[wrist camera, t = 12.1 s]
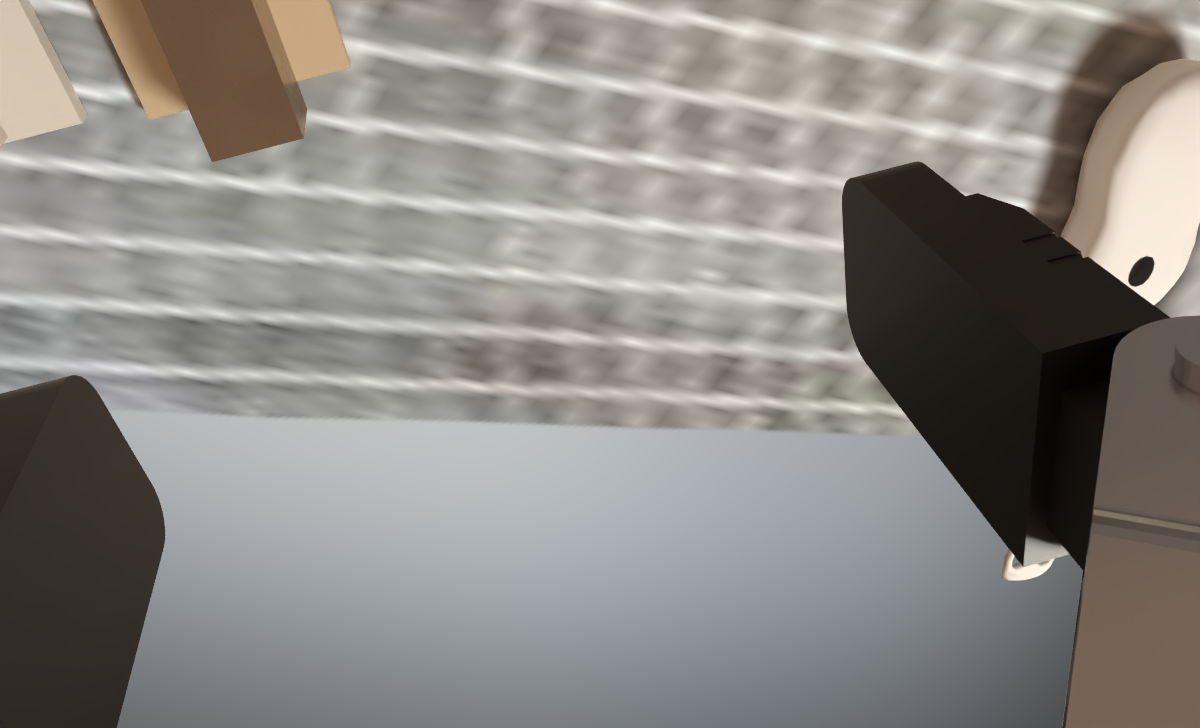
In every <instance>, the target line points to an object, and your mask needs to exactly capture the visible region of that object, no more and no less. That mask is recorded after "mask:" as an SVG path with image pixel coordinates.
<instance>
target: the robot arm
mask: <svg viewBox="0 0 1200 728" xmlns="http://www.w3.org/2000/svg"><path fill="white" fill-rule="evenodd" d="M842 215H843V237H844V258H845V280H846V302H847V313H848V319H849V324H850V328H851V331H852V335H853V338H854V341H855V343H856V346H857V348H858V350H859V352H860V354H861V356H862V358H863V359H864V361H865V362H866V364H867V365H868V366H869V368H870V369H871V370H872V372H873V373H874V374H875V375H876V377H877V378H878V379H879V381H880V382H881V383H882V385H883V386H884V387H885V388H886V390H887V391H888V392H889V394H890V395H891V396H892V397H893V399H894V400H895V401H896V403H897V404H898V405H899V407H900V408H901V409H902V410H903V412H904V413H905V414H906V416H907V417H908V418H909V420H910V421H911V422H912V423H913V425H914V426H915V427H916V429H917V430H918V431H919V433H920V434H921V435H922V436H923V438H924V439H925V440H926V442H927V443H928V444H929V445H930V447H931V448H932V449H933V451H934V452H935V453H936V455H937V456H938V457H939V458H940V460H941V461H942V462H943V464H944V465H945V466H946V468H947V469H948V470H949V471H950V473H951V474H952V475H953V477H954V478H955V479H956V480H957V482H958V483H959V484H960V486H961V487H962V488H963V490H964V491H965V492H966V494H967V495H968V496H969V497H970V499H971V500H972V501H973V503H974V504H975V505H976V507H977V508H978V509H979V510H980V512H981V513H982V514H983V516H984V517H985V518H986V519H987V521H988V522H989V523H990V525H991V526H992V527H993V529H994V530H995V531H996V532H997V533H998V535H999V536H1000V537H1001V539H1002V540H1003V542H1004V543H1005V544H1006V545H1007V547H1008V548H1009V549H1010V551H1011V552H1012V553H1013V555H1014V556H1015V557H1016V558H1017V560H1018V561H1019V562H1020V564H1021V565H1022V566H1023V567H1026V566H1029V565H1033V564H1036V563H1040V562H1043V561H1047V560H1051V559H1054V558H1058V557H1061V556H1065V555H1068V554H1070V555H1071V556H1072V557H1073V559H1074V560H1075V561H1076V562H1077V564H1078V565H1079V566H1080V567H1081V568H1082V570H1083V576H1082V583H1081V591H1080V597H1079V605H1078V612H1077V620H1076V627H1075V635H1074V642H1073V650H1072V658H1071V665H1070V672H1069V680H1068V688H1067V695H1066V703H1065V710H1064V717H1063V725H1062V728H1200V316H1183V317H1175V318H1170V317H1169V316H1167V315H1166V314H1165V313H1163V312H1162V311H1161V310H1159V309H1158V308H1157V307H1155V306H1154V305H1153V304H1151V303H1150V302H1149V301H1147V300H1146V299H1144V298H1143V297H1142V296H1140V295H1139V294H1138V293H1136V292H1135V291H1134V290H1132V289H1131V288H1130V287H1128V286H1127V285H1126V284H1124V283H1123V282H1122V281H1120V280H1119V279H1118V278H1116V277H1115V276H1113V275H1112V274H1111V273H1109V272H1108V271H1107V270H1105V269H1104V268H1103V267H1101V266H1100V265H1099V264H1097V263H1096V262H1095V261H1093V260H1092V259H1091V258H1089V257H1085V258H1083V257H1082V254H1081V251H1080V250H1078V249H1077V248H1076V247H1074V246H1073V245H1072V244H1070V243H1069V242H1068V241H1066V240H1065V239H1064V238H1062V237H1058V238H1056V236H1055V232H1054V231H1053V230H1052V229H1050V228H1049V227H1048V226H1046V225H1045V224H1043V223H1042V222H1041V221H1039V220H1038V219H1037V218H1035V217H1034V216H1033V215H1031V214H1030V213H1029V212H1027V211H1026V210H1025V209H1023V208H1020V207H1017V206H1014V205H1011V204H1008V203H1005V202H1002V201H999V200H996V199H993V198H990V197H987V196H984V195H981V194H978V193H977V194H973V195H969V196H964V195H963V194H962V193H960V192H959V191H958V190H957V189H955V188H954V187H953V186H952V185H950V184H949V183H948V182H946V181H945V180H944V179H943V178H941V177H940V176H939V175H938V174H936V173H935V172H934V171H933V170H931V169H930V168H929V167H928V166H926V165H925V164H923V163H922V162H913V163H909V164H905V165H901V166H897V167H893V168H889V169H885V170H881V171H877V172H873V173H870V174H866V175H862V176H858V177H854V178H850V179H849V180H847V182H846V183H845V186H844V189H843V195H842ZM164 542H165V525H164V517H163V512H162V508H161V505H160V502H159V499H158V496H157V494H156V492H155V489H154V487H153V485H152V484H151V482H150V480H149V479H148V477H147V475H146V474H145V472H144V470H143V469H142V467H141V465H140V463H139V462H138V460H137V458H136V457H135V455H134V453H133V451H132V450H131V448H130V447H129V445H128V443H127V441H126V440H125V438H124V436H123V435H122V433H121V431H120V429H119V428H118V426H117V424H116V423H115V421H114V419H113V418H112V416H111V414H110V413H109V411H108V409H107V408H106V406H105V404H104V402H103V401H102V399H101V397H100V396H99V394H98V393H97V391H96V390H95V388H94V387H93V386H92V385H91V384H90V383H89V382H88V381H87V380H86V379H84V378H82V377H80V376H77V375H72V376H68V377H64V378H60V379H57V380H53V381H49V382H45V383H41V384H37V385H33V386H29V387H25V388H21V389H17V390H13V391H10V392H6V393H2V394H0V728H117V724H118V720H119V716H120V713H121V708H122V705H123V701H124V698H125V694H126V690H127V686H128V682H129V678H130V675H131V671H132V667H133V663H134V659H135V655H136V652H137V648H138V644H139V640H140V636H141V632H142V629H143V625H144V621H145V617H146V613H147V609H148V605H149V602H150V598H151V594H152V590H153V586H154V583H155V579H156V575H157V571H158V567H159V563H160V560H161V555H162V552H163V548H164Z"/></svg>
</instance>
